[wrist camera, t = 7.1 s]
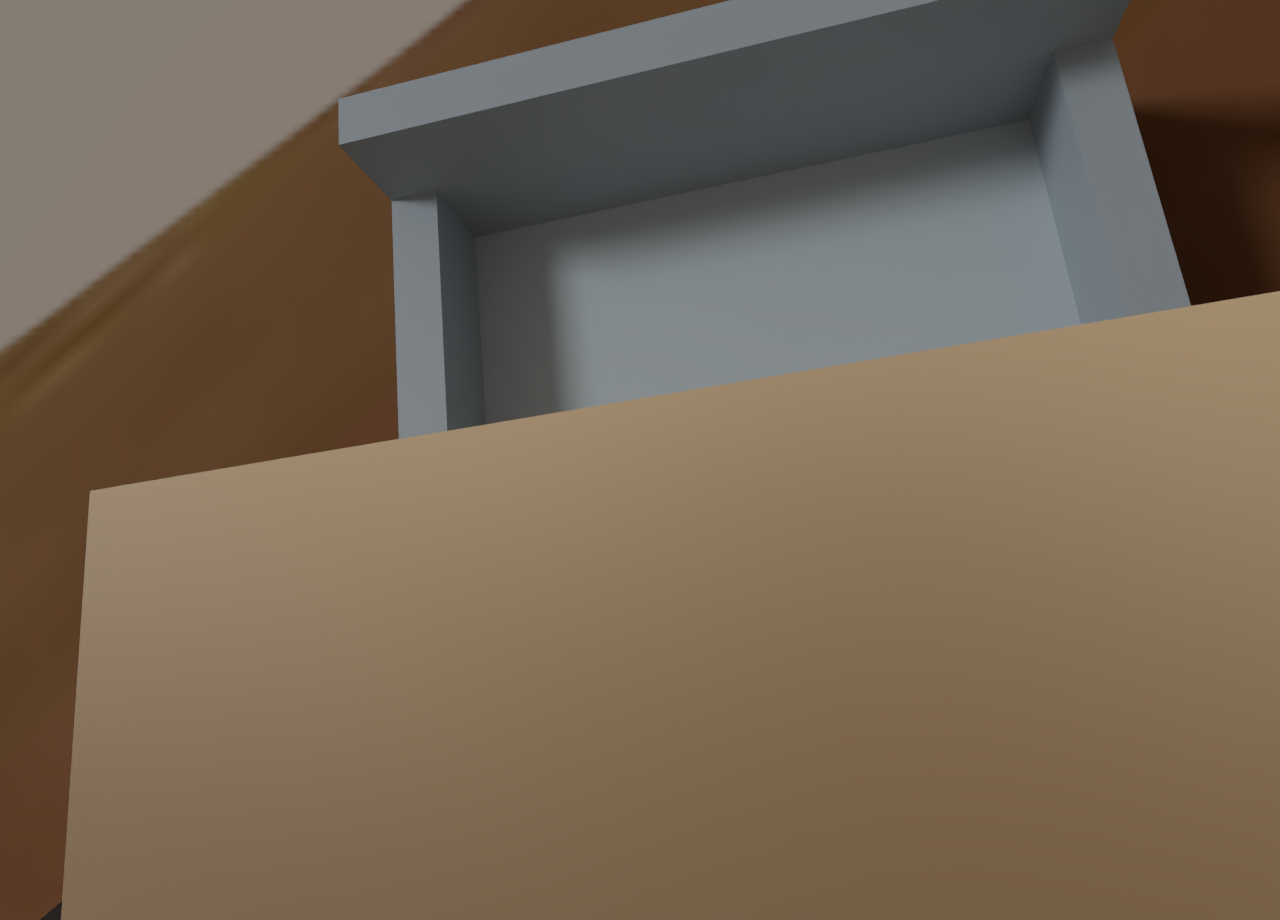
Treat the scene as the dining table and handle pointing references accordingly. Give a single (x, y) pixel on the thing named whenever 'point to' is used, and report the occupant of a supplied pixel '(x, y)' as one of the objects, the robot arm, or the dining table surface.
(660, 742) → the tan wooden block
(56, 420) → the dining table surface
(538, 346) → the bay
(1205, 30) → the dining table surface
